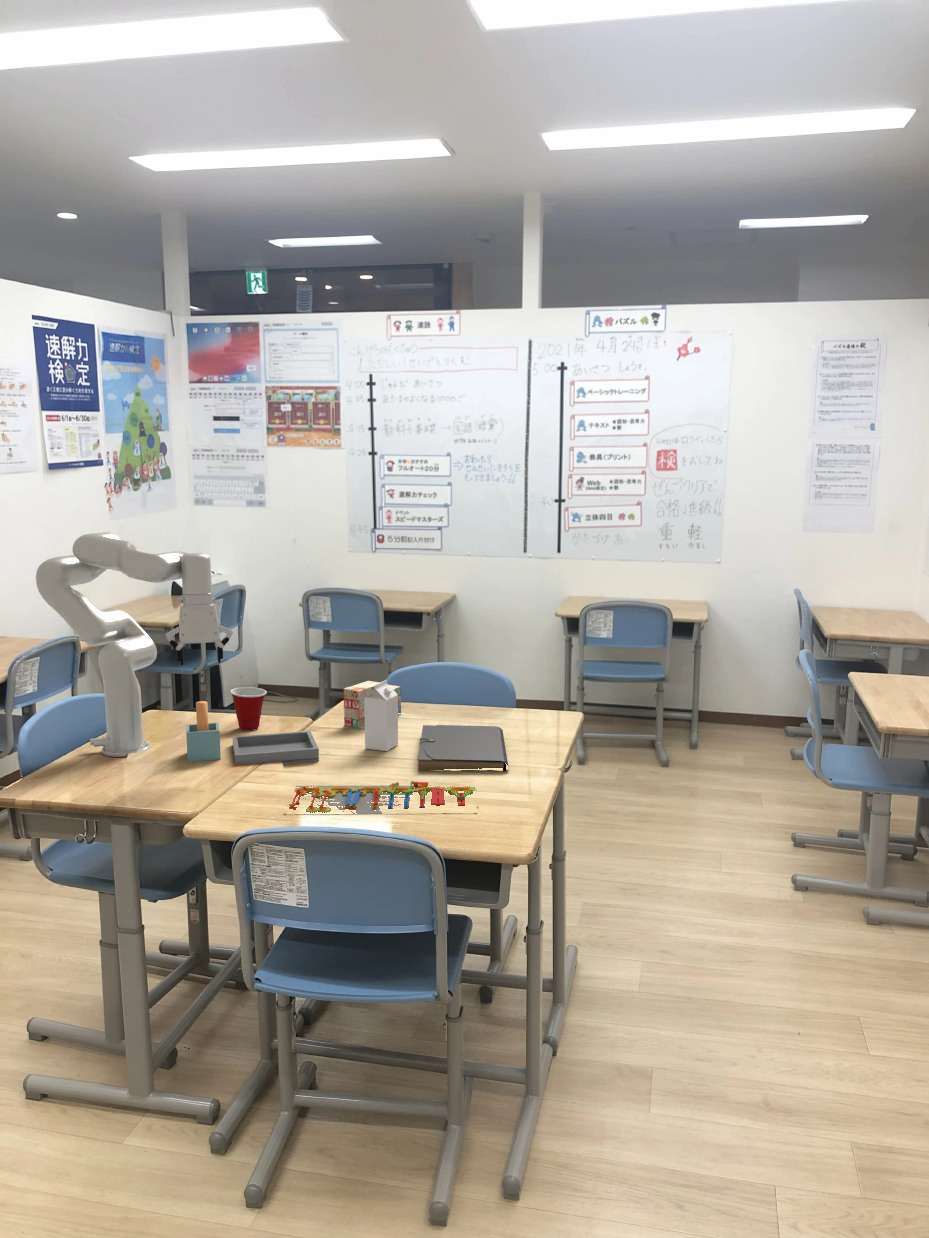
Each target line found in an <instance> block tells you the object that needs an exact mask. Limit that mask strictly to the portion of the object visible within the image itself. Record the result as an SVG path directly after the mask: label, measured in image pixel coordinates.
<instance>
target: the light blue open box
mask: <svg viewBox="0 0 929 1238" xmlns="http://www.w3.org/2000/svg"><path fill="white" fill-rule="evenodd" d="M208 727H209V731H197V723H188V724H187V723H186V731H185V733H186V734H185V736H186V737H185V738H186V757H187V759H186V760H187V763H191V762H204V761H205V762H206V761H207V762H208V761H216V760H218V761H219V760H221V759H222V757H221V755H222V753H221V735H220V734H221V733H220V731H221V730H220V722H219V721H218V722H217V721H215V722H208Z"/></svg>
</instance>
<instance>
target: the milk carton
mask: <svg viewBox="0 0 929 1238" xmlns="http://www.w3.org/2000/svg"><path fill="white" fill-rule="evenodd" d="M389 685H390V684H388V680H387V679H385V680H383V681H380V683H378V684H376V685H375V689H374V690H373V691H372V692H371V693H370V694H368V695H367V696H366V697H365V698H364V708H365V727H364V749H367V750H373V751H382V752H390V750H391V748H392V749H394V748H395V747H397V746H398V745H399V715H398V695H397V693H396V692H395V691H394V690H393V689H392V688H391V687H390V686H389ZM397 744H398V745H397ZM396 745H397V746H396ZM393 747H394V748H393Z"/></svg>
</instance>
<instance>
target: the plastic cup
mask: <svg viewBox="0 0 929 1238" xmlns="http://www.w3.org/2000/svg"><path fill="white" fill-rule="evenodd" d="M230 694H231V696H232V700H233V705H234V708H235V713H236V714H235V715H236V719H237V724H238V727H239V730H241V731H245V730H251V731H254V730H253V729H256V730H258V729H259V728H258V727H260V723H261V722H260V720H261V716H262V710H263V704H264V699H265V696H266V695H267V690H265V689H263V688H261V687H260V688H259V687H253V686H243V687H235V688H232V689H230ZM257 728H258V729H257Z"/></svg>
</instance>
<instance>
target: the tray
mask: <svg viewBox="0 0 929 1238" xmlns="http://www.w3.org/2000/svg"><path fill="white" fill-rule="evenodd" d="M231 739H232V750H233V755H234V756H233V757H234V762H235V766H236V765H247V764H258V763H259V764H260V763H271V762H272V763H273V762H281V764H282V765H289V764H290V765H291V764H300V763H311V762H312V763H313V762H319V761H320V751H319V750H320V749H319V746H318V744H317V742H316V740H315V738H314V736H313V733H312V731H311V730H306V731H305V730H302V731H291V732H276V733H275V732H274V733H263V734H262V733H261V734H251V735H250V734H249V735H239V736H238V735H237V736H232V738H231Z"/></svg>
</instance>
